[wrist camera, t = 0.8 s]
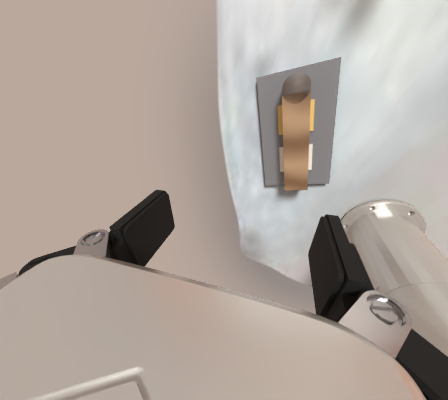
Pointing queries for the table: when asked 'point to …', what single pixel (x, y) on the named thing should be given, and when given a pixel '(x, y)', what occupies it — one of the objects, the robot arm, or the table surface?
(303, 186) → the swing bar
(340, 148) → the table surface
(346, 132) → the table surface
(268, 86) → the label board
